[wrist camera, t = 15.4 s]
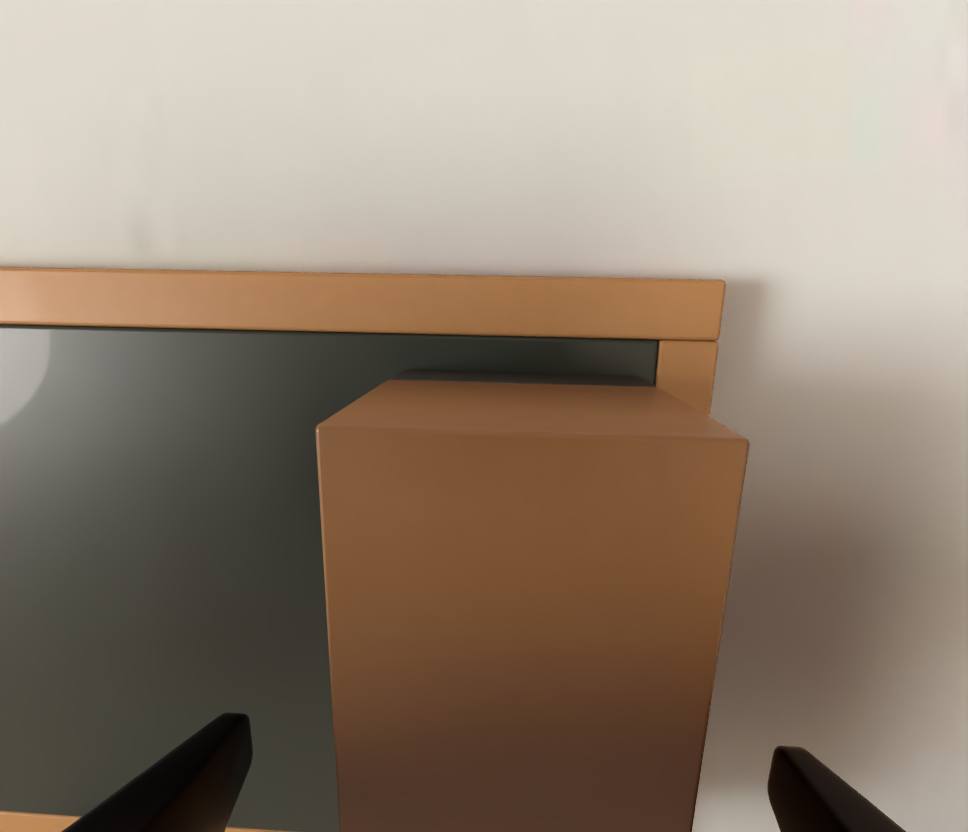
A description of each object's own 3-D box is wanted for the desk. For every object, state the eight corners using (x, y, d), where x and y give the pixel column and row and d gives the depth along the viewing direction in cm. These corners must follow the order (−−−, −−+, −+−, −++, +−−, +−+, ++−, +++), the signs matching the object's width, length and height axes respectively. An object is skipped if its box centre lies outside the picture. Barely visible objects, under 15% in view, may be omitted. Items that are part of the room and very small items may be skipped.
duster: (599, 829, 13) (649, 1129, 8) (410, 816, 13) (354, 1100, 8) (641, 375, 10) (752, 440, 6) (401, 369, 10) (312, 425, 6)
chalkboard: (708, 281, 11) (728, 279, 10) (640, 853, 14) (649, 893, 13) (-162, 265, 12) (-223, 262, 11) (-16, 806, 15) (-52, 840, 14)
